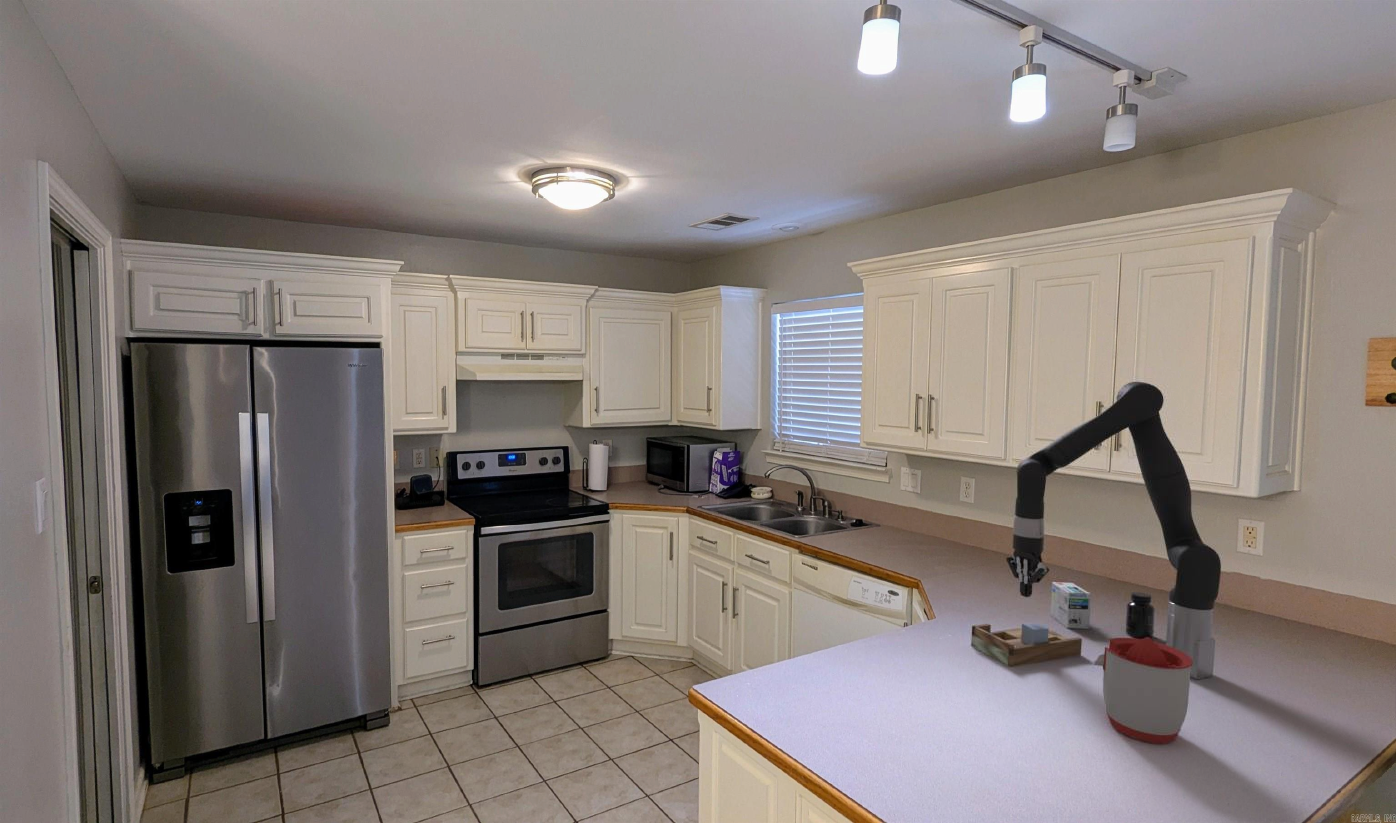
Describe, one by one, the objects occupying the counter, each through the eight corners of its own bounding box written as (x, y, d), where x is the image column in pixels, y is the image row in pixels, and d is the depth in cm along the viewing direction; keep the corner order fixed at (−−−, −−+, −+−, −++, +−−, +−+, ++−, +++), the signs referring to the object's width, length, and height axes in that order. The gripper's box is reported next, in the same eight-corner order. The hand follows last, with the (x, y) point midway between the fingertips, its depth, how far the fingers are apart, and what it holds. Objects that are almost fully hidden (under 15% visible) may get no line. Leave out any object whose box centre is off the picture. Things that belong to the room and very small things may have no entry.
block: (1047, 647, 182) (1048, 628, 182) (1033, 648, 181) (1034, 629, 181) (1035, 640, 186) (1036, 622, 186) (1021, 641, 185) (1022, 623, 185)
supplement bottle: (1145, 631, 204) (1147, 591, 203) (1158, 640, 197) (1161, 598, 196) (1120, 629, 204) (1123, 589, 203) (1132, 638, 197) (1135, 597, 197)
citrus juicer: (1097, 702, 159) (1102, 616, 157) (1190, 728, 148) (1197, 636, 146) (1083, 728, 146) (1088, 635, 145) (1183, 759, 135) (1190, 659, 134)
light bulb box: (1090, 629, 204) (1092, 593, 204) (1066, 628, 204) (1069, 592, 204) (1071, 616, 215) (1073, 582, 214) (1049, 615, 215) (1051, 581, 214)
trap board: (1080, 654, 185) (1082, 634, 185) (1010, 666, 177) (1011, 645, 176) (1038, 635, 198) (1039, 616, 198) (971, 645, 190) (972, 625, 189)
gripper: (999, 528, 193) (996, 590, 194) (1037, 539, 181) (1034, 605, 182) (1019, 526, 196) (1017, 587, 197) (1059, 537, 183) (1056, 602, 184)
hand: (1025, 595), depth 189 cm, fingers closed
